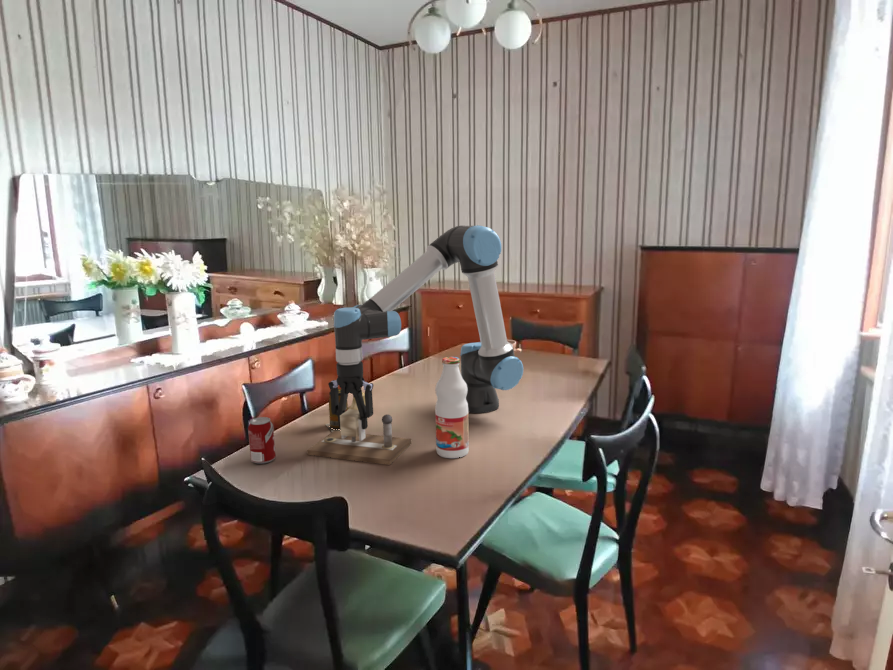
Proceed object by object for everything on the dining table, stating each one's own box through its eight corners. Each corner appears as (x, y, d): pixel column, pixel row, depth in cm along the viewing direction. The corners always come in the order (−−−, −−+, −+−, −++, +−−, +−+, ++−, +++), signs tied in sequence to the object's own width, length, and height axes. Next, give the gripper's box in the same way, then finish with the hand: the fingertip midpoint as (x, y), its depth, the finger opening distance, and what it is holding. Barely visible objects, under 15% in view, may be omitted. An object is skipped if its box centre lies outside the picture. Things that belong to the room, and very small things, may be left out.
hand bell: (367, 412, 206) (365, 368, 203) (345, 411, 208) (342, 367, 204) (375, 405, 214) (373, 362, 211) (353, 404, 216) (351, 361, 212)
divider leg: (365, 438, 176) (364, 410, 174) (356, 445, 171) (355, 417, 169) (350, 436, 178) (349, 409, 176) (341, 444, 172) (339, 415, 170)
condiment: (346, 421, 198) (344, 386, 195) (354, 429, 190) (352, 393, 188) (325, 424, 195) (323, 390, 192) (332, 433, 187) (329, 397, 185)
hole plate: (411, 443, 177) (410, 407, 175) (389, 465, 163) (388, 425, 160) (334, 435, 185) (332, 400, 183) (307, 454, 171) (304, 416, 168)
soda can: (262, 467, 163) (258, 426, 160) (245, 462, 166) (242, 421, 164) (280, 458, 168) (277, 418, 166) (264, 453, 172) (261, 414, 169)
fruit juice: (475, 452, 170) (474, 358, 164) (452, 462, 164) (450, 364, 158) (453, 443, 177) (451, 352, 171) (429, 452, 170) (427, 358, 165)
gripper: (383, 360, 170) (386, 436, 175) (328, 356, 176) (332, 430, 180) (372, 367, 163) (376, 446, 168) (315, 363, 169) (320, 439, 173)
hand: (353, 437), depth 174 cm, fingers closed on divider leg, 5 cm apart
